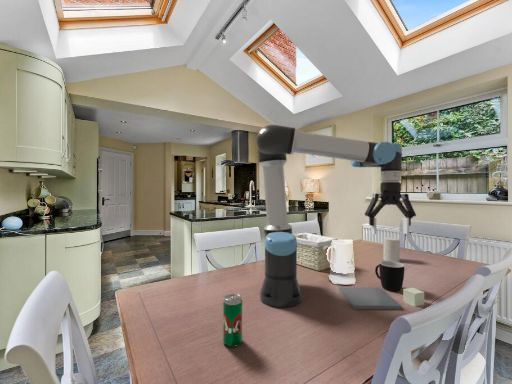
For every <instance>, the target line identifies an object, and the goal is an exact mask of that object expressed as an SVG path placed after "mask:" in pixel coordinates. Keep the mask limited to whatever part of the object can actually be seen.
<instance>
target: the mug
mask: <svg viewBox="0 0 512 384" xmlns="http://www.w3.org/2000/svg"><path fill="white" fill-rule="evenodd" d="M378 269H379V272H378ZM374 271H375V275H376V277H377V278H378V279H379V281H380V283H381V287H382V288H383V289H384V291H385V290H386V291H388V292H394V293H397V292H400V291H401V290H402V287H403V284H404V278H405V264H404V263H401V262H400V261H399V262H394V261H385V260H382V261H379V264H377V265H376V266H375V269H374Z"/></svg>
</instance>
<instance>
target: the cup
mask: <svg viewBox="0 0 512 384" xmlns="http://www.w3.org/2000/svg"><path fill="white" fill-rule="evenodd" d="M400 246H401V239H400V238H397V237H387V236H385V237H383V246H382V247H383V250H382V251H383V252H382V253H383V256H382V257H383V259H384V260H383V261H385V260H386V261H394V262H399V263H400V259H401V255H400V254H401V253H400V252H401V251H400V249H401V248H400Z"/></svg>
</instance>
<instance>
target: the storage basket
mask: <svg viewBox="0 0 512 384" xmlns="http://www.w3.org/2000/svg"><path fill="white" fill-rule="evenodd" d="M292 234H293V233H292ZM293 235H294V236H295V237H296V239H297V266H302V267H305V268H308V269H312V270H315V271H323V270H327V269H329V268H331V267H330V264H329V262H328V260H327V255H326V253H327V249H328V247H329V246H330V245H331V242H332V240H338V238H336V237H330V236H326V235H324V236H323V235H320V234H319V235H318V234H314V233H309V232H301V233H294V234H293ZM338 241H339V240H338Z"/></svg>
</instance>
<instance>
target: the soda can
mask: <svg viewBox="0 0 512 384" xmlns="http://www.w3.org/2000/svg"><path fill="white" fill-rule="evenodd" d="M242 342H243V299H242V296H241V295H240V294H238V293H230V294H227V295H225V296H224V299H223V301H222V343H223V344H224V345H225V344H226V345H228V346H227V347H229V346H235V345H238V344H239V345H241V343H242ZM226 345H225V346H226ZM239 345H238V346H239ZM235 347H236V346H235Z"/></svg>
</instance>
